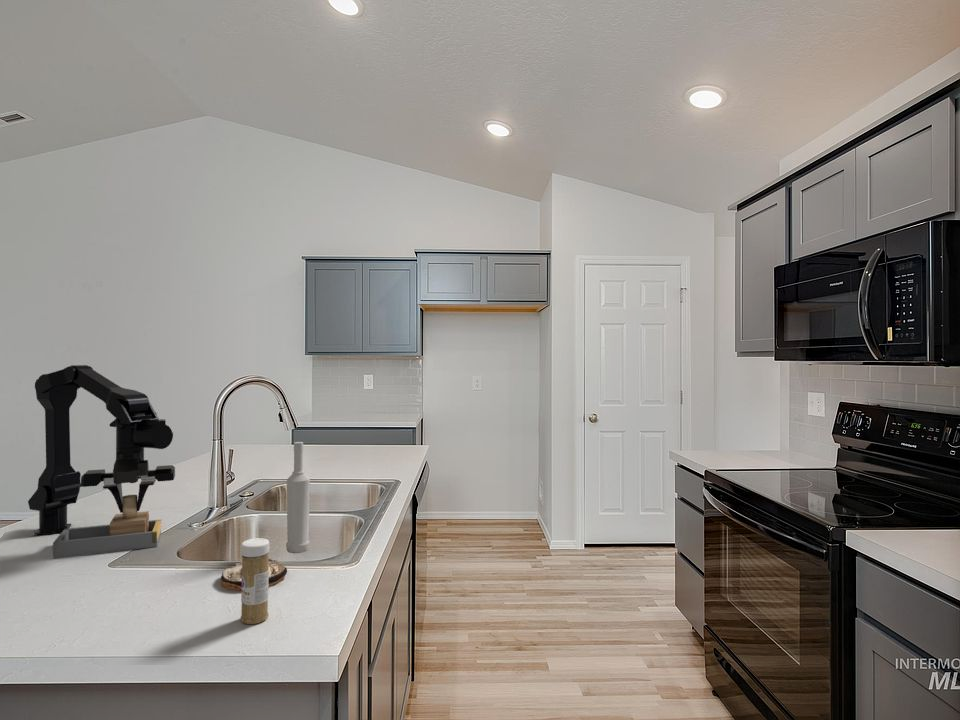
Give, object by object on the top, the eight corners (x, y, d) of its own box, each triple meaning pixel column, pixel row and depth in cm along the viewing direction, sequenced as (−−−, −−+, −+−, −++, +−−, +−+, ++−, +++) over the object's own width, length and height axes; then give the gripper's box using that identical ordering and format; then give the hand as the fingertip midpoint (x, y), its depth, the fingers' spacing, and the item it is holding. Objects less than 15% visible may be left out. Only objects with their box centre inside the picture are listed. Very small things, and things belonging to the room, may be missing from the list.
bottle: (314, 548, 135) (314, 441, 135) (298, 555, 131) (299, 445, 130) (297, 544, 138) (297, 440, 137) (281, 551, 133) (281, 443, 133)
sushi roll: (298, 588, 114) (298, 567, 114) (215, 602, 107) (215, 580, 107) (288, 563, 127) (288, 544, 127) (213, 573, 121) (213, 554, 121)
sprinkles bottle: (235, 619, 99) (235, 541, 99) (260, 610, 103) (260, 535, 103) (249, 628, 96) (249, 547, 96) (274, 618, 100) (274, 541, 100)
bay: (64, 543, 137) (65, 528, 137) (161, 533, 145) (161, 519, 145) (52, 558, 127) (52, 542, 127) (156, 546, 135) (156, 531, 135)
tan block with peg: (115, 534, 140) (115, 493, 140) (148, 531, 143) (149, 491, 143) (109, 545, 132) (109, 501, 132) (145, 541, 135) (145, 498, 135)
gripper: (75, 454, 126) (75, 525, 126) (172, 449, 134) (171, 516, 134) (86, 446, 136) (86, 512, 136) (175, 442, 144) (175, 504, 144)
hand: (130, 511), depth 138 cm, fingers closed on tan block with peg, 3 cm apart
